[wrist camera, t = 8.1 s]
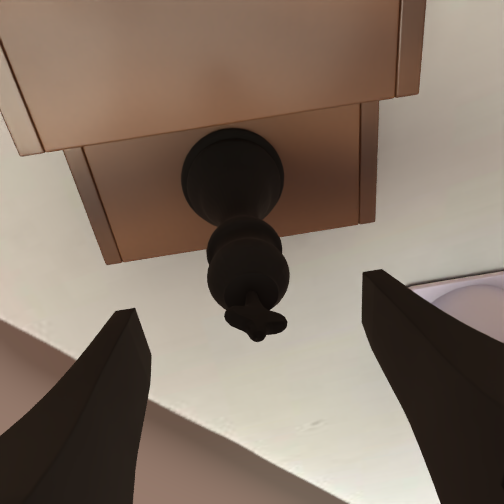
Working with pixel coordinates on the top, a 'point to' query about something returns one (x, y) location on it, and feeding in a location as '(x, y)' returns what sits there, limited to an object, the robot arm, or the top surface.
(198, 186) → the chess piece
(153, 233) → the step rack
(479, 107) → the top surface
